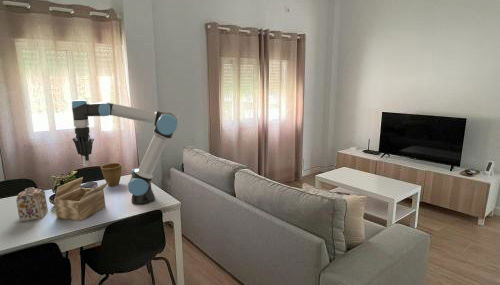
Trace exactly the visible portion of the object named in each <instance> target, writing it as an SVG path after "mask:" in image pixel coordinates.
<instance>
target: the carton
mask: <svg viewBox="0 0 500 285" xmlns="http://www.w3.org/2000/svg"><path fill="white" fill-rule="evenodd" d="M90 190H93V189H90V188H78V189H76V190H74V191H71V192H69V193H67V194H65V195H62V196H60V197H58V198H56V199H55V198H54V199H53V202H54V208H55V216H56V218H57V219H62V220H67V221H68V220H69V221H77V222H83V221H84V220H86V219H88V218H89V217H91V216H93V215H95V214H96V213H98V212H100V211H102V210H103V209H105V208H106V207H107V206H106V200H105V191H104V189H103V190H102V191H100V192H98V193H96V194H94V195H92V196H89V197H87V198H85V199H83V200H81V201H80V199H81V198H82V197H83V196H84V195H85V193H86V192H88V191H90Z"/></svg>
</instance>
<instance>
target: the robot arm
mask: <svg viewBox="0 0 500 285" xmlns="http://www.w3.org/2000/svg"><path fill="white" fill-rule="evenodd" d="M71 110H72V117H73V127H74V134H75V137H74V138H73V137H72V141H73V143H74V146H75V148H76V152H77V155H80V157H81V161H82V166H83V167H84V168H85V167H88V166H89V161H90V156H89V155H91V154H92V152H93V145H94V144H93V143H94V140H95V139H94V138H91V135H90V124H89V117H108V116H113V117H117V118H123V119H127V120H133V121H136V122H137V121H138V122H143V123H147V124H152V125H153V126H154V127H153V130H152V132H153V136H152V138H151V141H150V143H149V145H148V147H147V150H146V152H145V154H144V156H143V158H142V160H141V163H140V164H139V167H136V168H132V169H131V172H130V174H131V178H130V180H129V181H128V183H127V188H128V192H130V194H131V195H132V196H131V204H132V205H136V206H144V205H149V204H152V203H153V202H155V200H156V196H155V193H154V191H153V189H152V180H153V178H154V177H153V172H154V169H155V168H156V166H157V164H158V161H159V160H160V157H161V155H162V153H163V150H164V148H165V146H166V145H167V142H168V140H171V139H172V137H173V135H174V133H175V132H176V130H177V128H178V119H177V117H176V116H175V115H174V114H173V113H171V112H166V111H165V112H164V111H157V110H156V111H155V112H154V111H151V110H146V109H141V108H136V107H131V106H126V105H122V104H117V103H112V102H109V101H103V100H102V101H100V102H97V103H95V102H93V103H88V102H87V100H86V99H74V100H72V101H71Z"/></svg>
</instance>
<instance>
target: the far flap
mask: <svg viewBox="0 0 500 285" xmlns="http://www.w3.org/2000/svg"><path fill="white" fill-rule="evenodd" d="M83 178H84V177H83V176H82V177H79V178H76V179H74V180H72V181H69V182H67V183H65V184H62V185H59V186H57V187H56V192H55V196H54V199H56V198H58V197H60V196H63V195H65V194H67V193H70V192H72V191H74V190H76V189H79V188H80V186H81V185H82V182H83Z"/></svg>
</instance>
